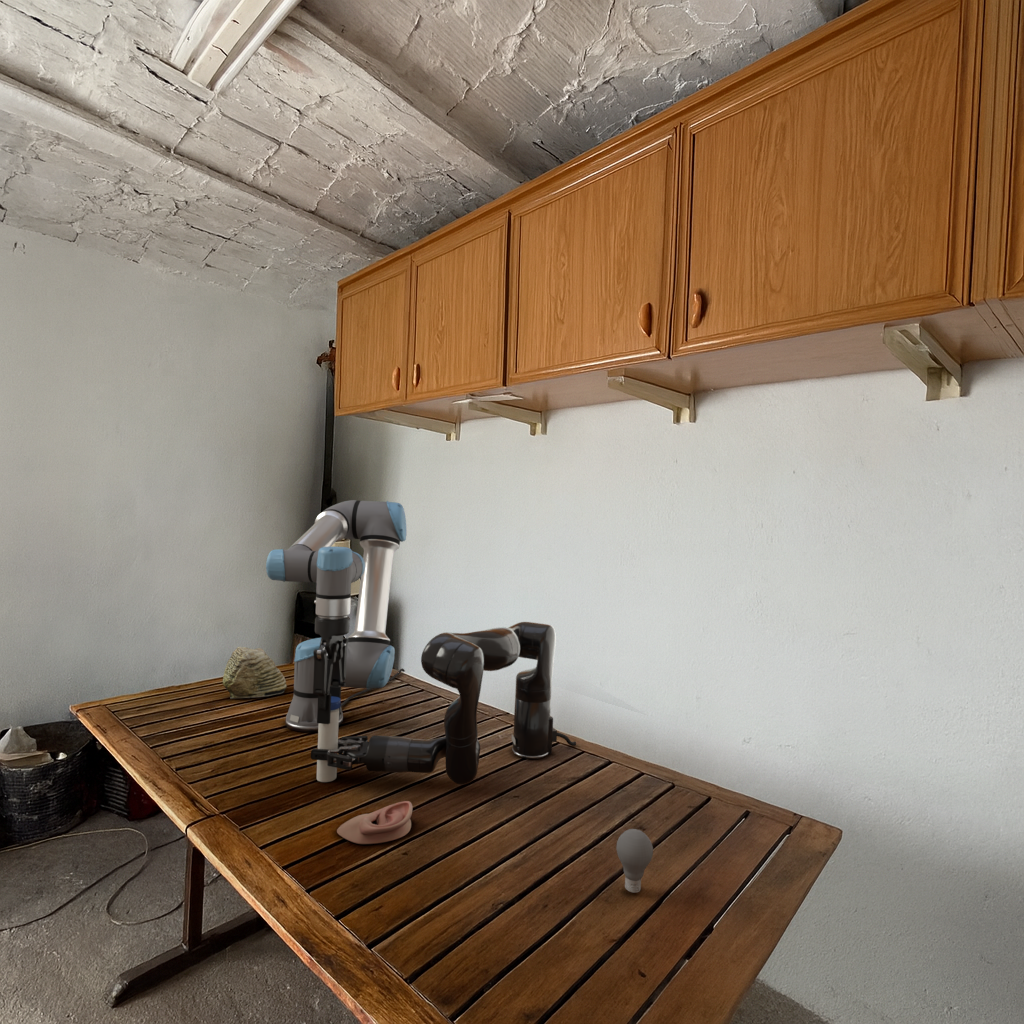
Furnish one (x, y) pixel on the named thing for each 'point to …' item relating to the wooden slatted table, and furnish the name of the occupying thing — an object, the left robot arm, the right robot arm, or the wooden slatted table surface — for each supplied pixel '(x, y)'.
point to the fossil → (252, 674)
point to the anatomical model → (379, 825)
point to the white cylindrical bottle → (328, 746)
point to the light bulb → (634, 857)
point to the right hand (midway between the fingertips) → (315, 749)
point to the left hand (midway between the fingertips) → (328, 718)
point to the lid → (335, 703)
